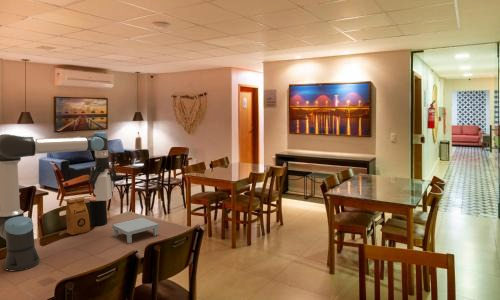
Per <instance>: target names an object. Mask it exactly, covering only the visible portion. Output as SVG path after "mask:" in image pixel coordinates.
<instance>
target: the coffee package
mask: <svg viewBox="0 0 500 300" xmlns="http://www.w3.org/2000/svg"><path fill="white" fill-rule="evenodd" d="M65 218H66V222H65V223H66V231H67V234H69V235H72V236H73V235H79V234H83V233H87V232H90V230H91V224H90V213H89V211H88V208H87V205H86V201H85V197H79V198H74V199H73V198H72V199H67V200H66V207H65Z"/></svg>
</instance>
